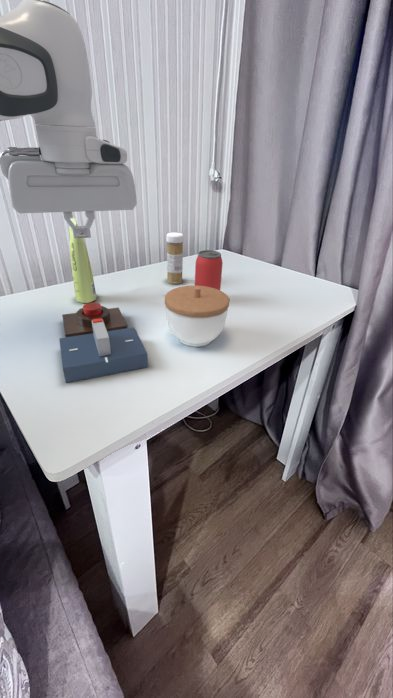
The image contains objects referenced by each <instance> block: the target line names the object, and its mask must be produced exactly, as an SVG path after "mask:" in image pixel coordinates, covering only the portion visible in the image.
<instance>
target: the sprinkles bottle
mask: <svg viewBox="0 0 393 698" xmlns="http://www.w3.org/2000/svg"><path fill="white" fill-rule="evenodd" d="M165 239H166V271H167V273H166V274H167V275H166V276H167V277H166V278H167V279H166V282H167V283H168V284H171V285H179V284H182V283H183V282H184V281H183V280H184V279H183V271H184V270H183V269H184V267H183V265H184V263H183V261H184V255H183V254H184V253H183V252H184V251H183V248H184V233H181V232H175V231H172V232H168V233H166V235H165Z"/></svg>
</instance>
